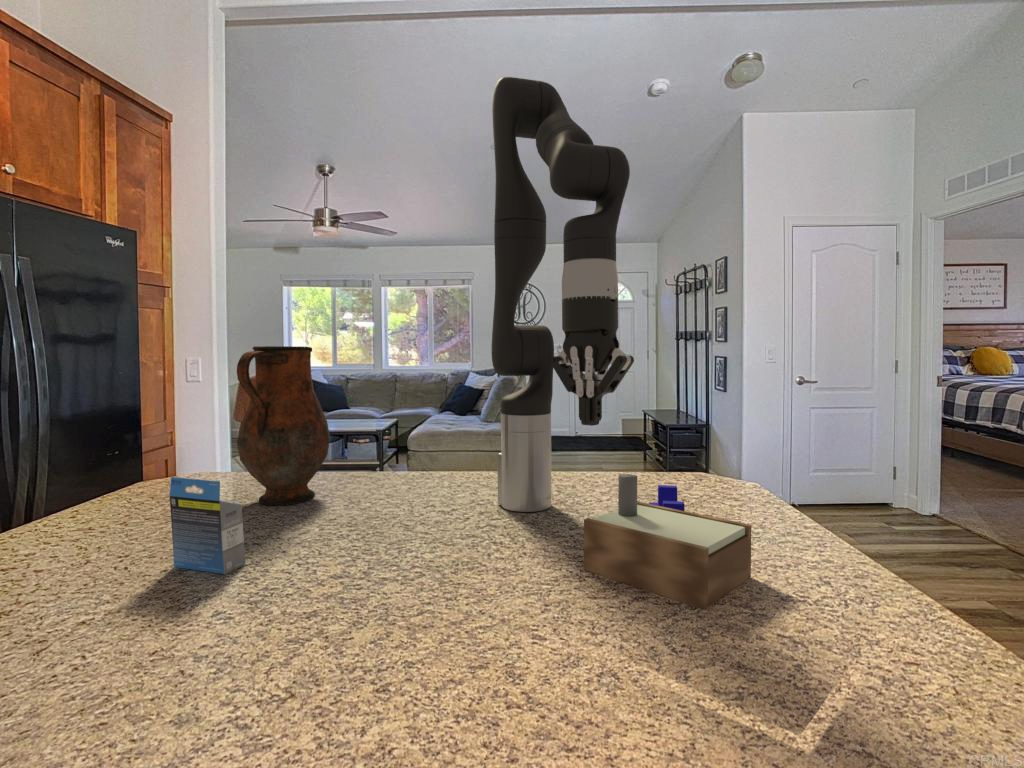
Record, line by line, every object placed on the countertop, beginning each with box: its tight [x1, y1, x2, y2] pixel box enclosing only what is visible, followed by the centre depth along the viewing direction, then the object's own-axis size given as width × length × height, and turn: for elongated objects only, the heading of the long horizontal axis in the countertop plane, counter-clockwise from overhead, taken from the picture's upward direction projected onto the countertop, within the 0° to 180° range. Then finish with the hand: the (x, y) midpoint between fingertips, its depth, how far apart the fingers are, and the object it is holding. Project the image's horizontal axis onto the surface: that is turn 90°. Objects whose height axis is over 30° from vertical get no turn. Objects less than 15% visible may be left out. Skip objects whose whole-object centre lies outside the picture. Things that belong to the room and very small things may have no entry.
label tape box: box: [169, 475, 246, 575], centre depth 75 cm, size 9×4×12 cm, turn 71°
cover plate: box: [591, 473, 745, 554], centre depth 69 cm, size 15×10×6 cm, turn 45°
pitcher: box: [236, 345, 331, 506], centre depth 108 cm, size 17×21×30 cm
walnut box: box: [583, 501, 752, 611], centre depth 70 cm, size 16×12×7 cm
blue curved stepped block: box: [648, 484, 686, 511], centre depth 89 cm, size 12×4×6 cm, turn 169°
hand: (590, 424), depth 77 cm, fingers closed
